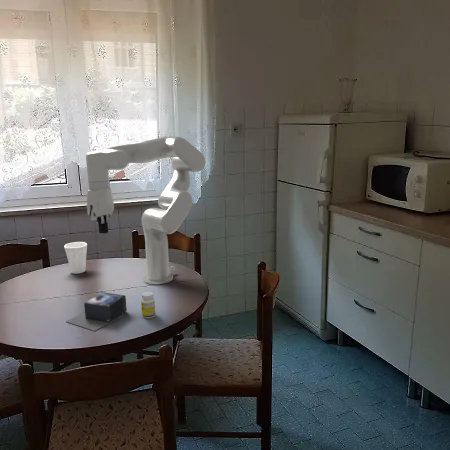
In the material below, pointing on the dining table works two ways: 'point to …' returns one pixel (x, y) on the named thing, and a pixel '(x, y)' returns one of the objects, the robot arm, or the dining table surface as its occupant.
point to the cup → (76, 256)
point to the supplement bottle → (148, 305)
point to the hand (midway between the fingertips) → (103, 232)
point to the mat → (89, 322)
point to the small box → (105, 307)
